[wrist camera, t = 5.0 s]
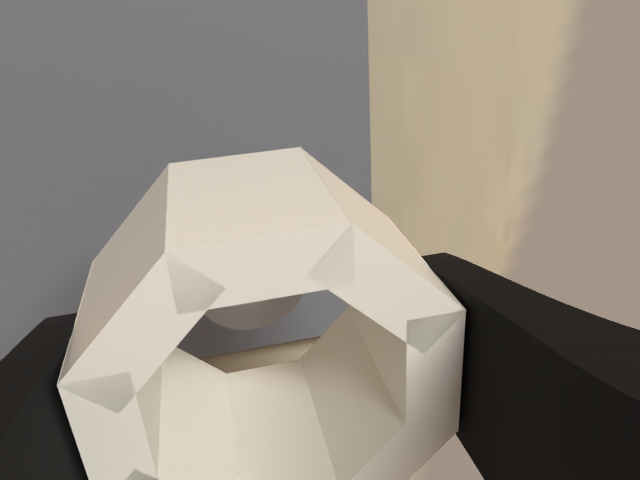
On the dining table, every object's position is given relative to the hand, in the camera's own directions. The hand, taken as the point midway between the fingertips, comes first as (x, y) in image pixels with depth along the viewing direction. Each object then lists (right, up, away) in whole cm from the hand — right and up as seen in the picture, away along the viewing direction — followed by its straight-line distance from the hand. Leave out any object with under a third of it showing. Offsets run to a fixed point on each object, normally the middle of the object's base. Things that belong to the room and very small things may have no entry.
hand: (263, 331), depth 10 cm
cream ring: (0, +1, +1) cm, 1 cm away
